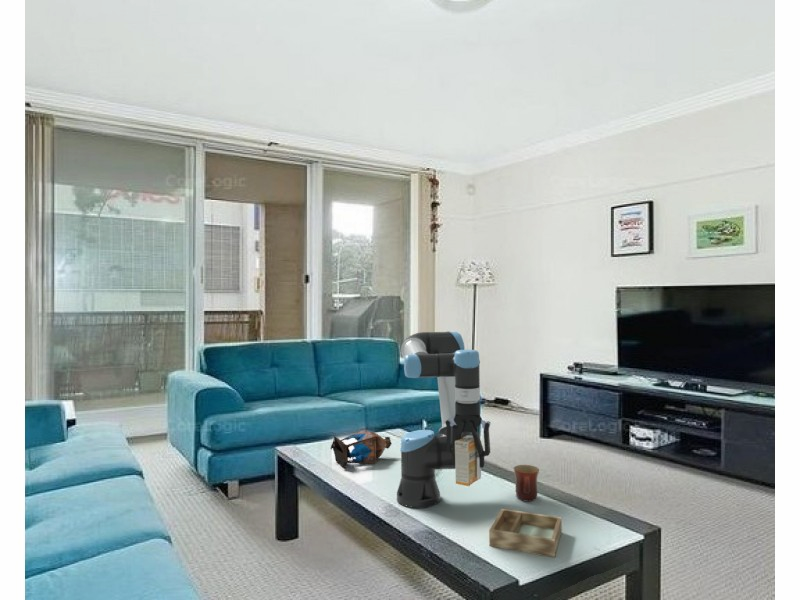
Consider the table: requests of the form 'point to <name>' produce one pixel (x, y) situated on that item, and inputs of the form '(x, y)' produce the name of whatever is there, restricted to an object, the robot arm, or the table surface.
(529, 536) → the frame
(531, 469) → the mug
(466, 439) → the supplement box
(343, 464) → the lantern
